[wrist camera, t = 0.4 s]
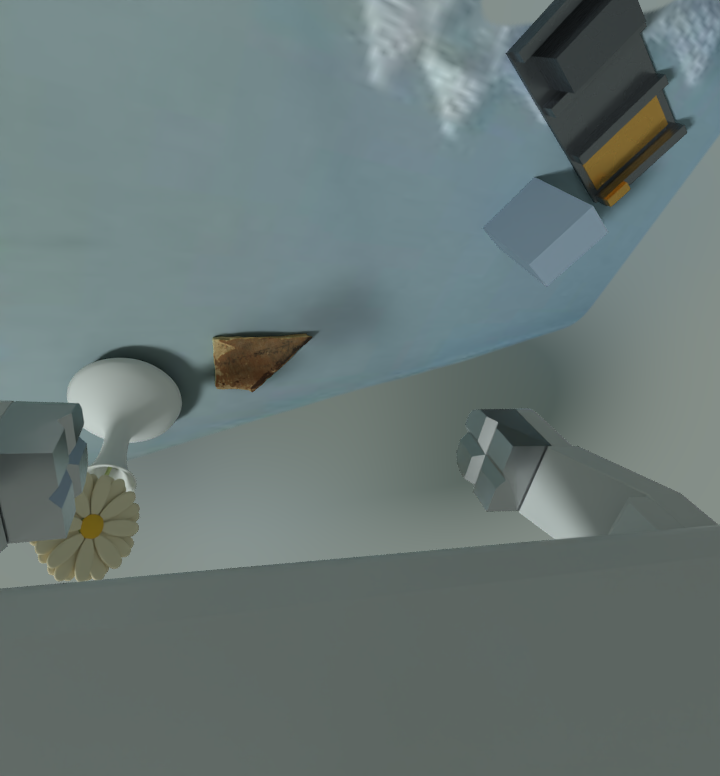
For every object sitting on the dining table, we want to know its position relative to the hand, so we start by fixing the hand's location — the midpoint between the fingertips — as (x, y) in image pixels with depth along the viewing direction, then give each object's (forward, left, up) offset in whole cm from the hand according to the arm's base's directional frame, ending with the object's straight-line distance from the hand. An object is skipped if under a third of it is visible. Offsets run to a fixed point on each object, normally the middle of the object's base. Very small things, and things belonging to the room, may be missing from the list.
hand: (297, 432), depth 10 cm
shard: (+22, -2, -40) cm, 46 cm away
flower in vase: (+25, -16, -39) cm, 49 cm away
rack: (-2, +34, -39) cm, 52 cm away
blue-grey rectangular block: (+9, +28, -39) cm, 49 cm away
